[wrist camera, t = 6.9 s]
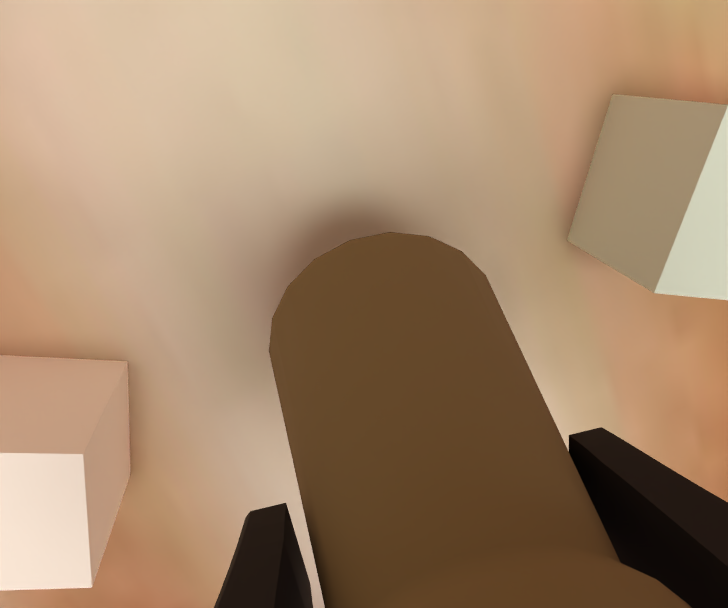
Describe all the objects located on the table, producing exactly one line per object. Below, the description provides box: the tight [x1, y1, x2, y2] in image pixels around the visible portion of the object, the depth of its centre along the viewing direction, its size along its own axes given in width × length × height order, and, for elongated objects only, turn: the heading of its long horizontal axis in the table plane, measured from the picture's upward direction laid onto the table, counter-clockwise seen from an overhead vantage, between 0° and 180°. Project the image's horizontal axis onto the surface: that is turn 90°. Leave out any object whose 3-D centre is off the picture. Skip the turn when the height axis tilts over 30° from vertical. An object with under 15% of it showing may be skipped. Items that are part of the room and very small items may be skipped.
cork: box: [269, 232, 692, 608], centre depth 9 cm, size 6×6×11 cm
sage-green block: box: [567, 94, 728, 300], centre depth 17 cm, size 5×5×5 cm
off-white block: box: [0, 355, 131, 590], centre depth 17 cm, size 5×5×5 cm
